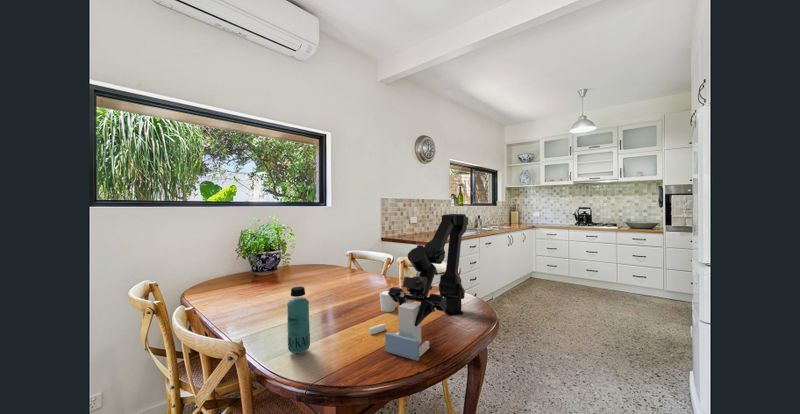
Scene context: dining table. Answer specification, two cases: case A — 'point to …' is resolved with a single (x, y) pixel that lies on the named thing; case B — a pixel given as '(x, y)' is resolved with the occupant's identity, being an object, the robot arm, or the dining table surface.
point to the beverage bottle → (298, 321)
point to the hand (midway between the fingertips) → (407, 324)
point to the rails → (378, 329)
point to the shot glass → (386, 302)
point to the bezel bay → (404, 346)
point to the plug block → (409, 320)
